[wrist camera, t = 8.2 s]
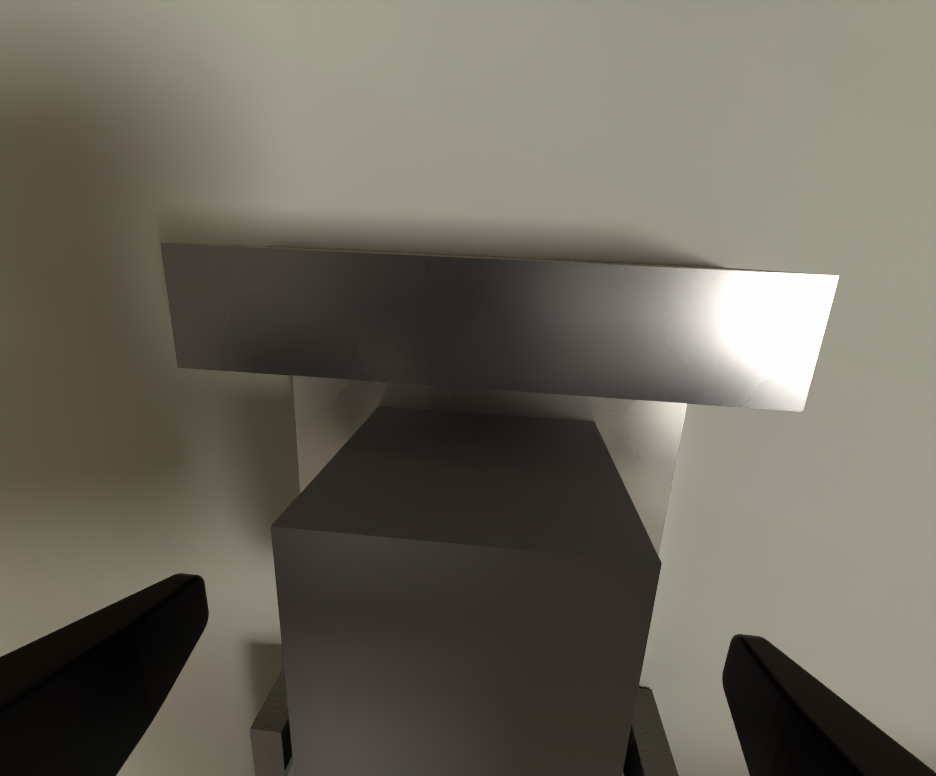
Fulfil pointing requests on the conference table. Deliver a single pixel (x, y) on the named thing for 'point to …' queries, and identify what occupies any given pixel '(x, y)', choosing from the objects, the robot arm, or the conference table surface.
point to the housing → (464, 600)
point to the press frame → (499, 363)
